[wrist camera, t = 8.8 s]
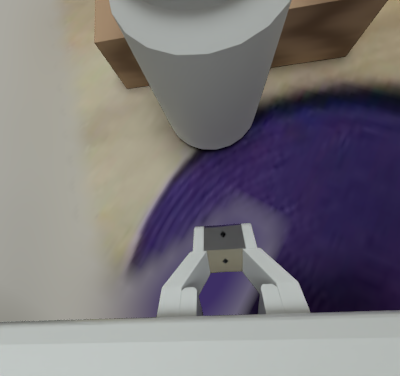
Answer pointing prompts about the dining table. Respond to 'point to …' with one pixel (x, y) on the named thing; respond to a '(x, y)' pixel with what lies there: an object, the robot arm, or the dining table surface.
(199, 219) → the dining table surface
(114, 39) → the wooden block
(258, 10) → the can
